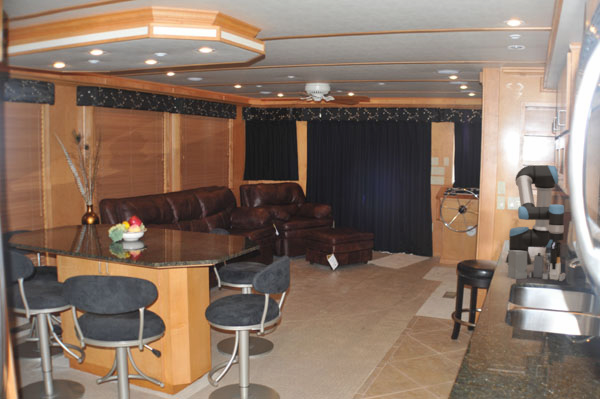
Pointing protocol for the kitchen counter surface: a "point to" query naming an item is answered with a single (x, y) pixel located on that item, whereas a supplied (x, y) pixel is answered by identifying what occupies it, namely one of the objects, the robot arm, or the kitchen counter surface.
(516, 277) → the skincare box
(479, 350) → the kitchen counter surface
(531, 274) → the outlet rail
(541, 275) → the twin plug
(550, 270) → the plug
